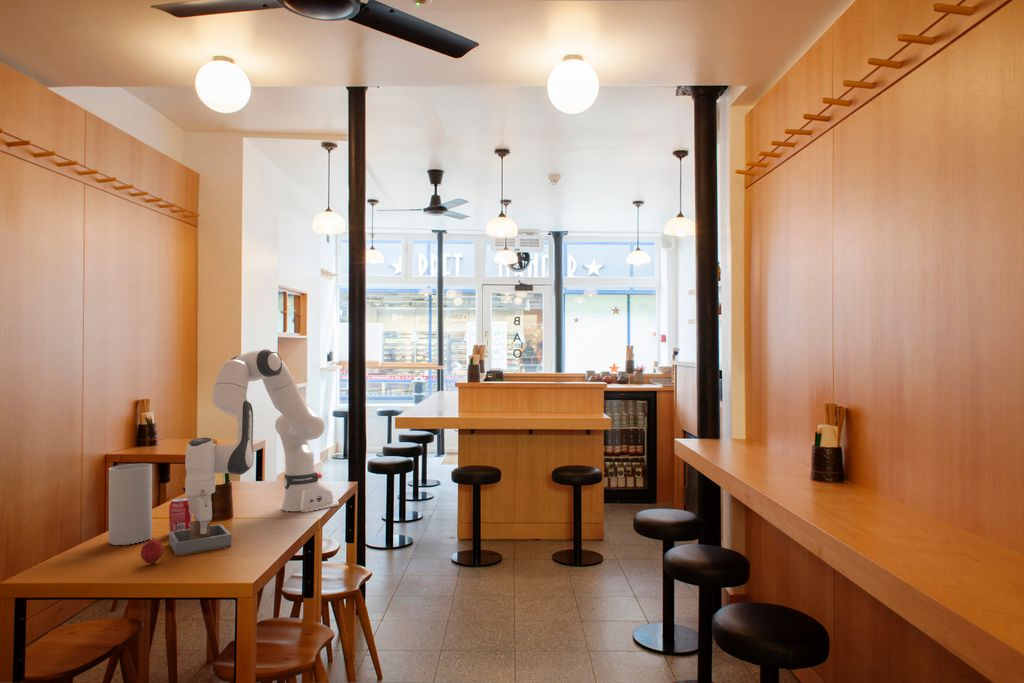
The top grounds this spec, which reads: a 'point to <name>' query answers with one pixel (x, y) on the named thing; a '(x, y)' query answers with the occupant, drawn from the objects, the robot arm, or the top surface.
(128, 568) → the top surface
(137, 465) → the white container
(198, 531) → the walnut block
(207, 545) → the tray
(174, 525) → the soda can
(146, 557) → the onion
